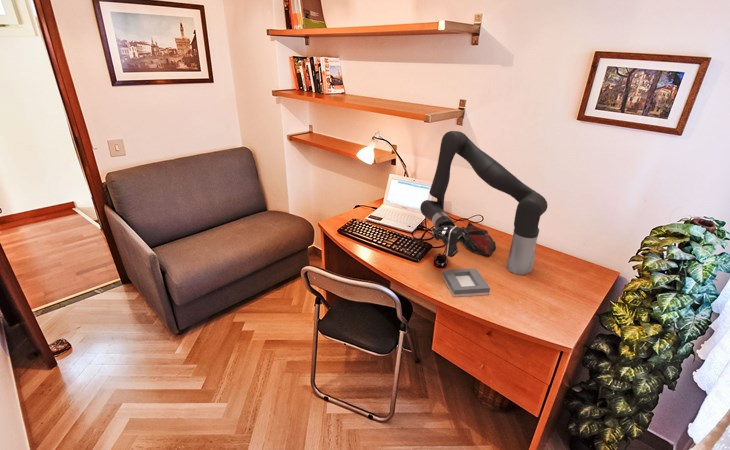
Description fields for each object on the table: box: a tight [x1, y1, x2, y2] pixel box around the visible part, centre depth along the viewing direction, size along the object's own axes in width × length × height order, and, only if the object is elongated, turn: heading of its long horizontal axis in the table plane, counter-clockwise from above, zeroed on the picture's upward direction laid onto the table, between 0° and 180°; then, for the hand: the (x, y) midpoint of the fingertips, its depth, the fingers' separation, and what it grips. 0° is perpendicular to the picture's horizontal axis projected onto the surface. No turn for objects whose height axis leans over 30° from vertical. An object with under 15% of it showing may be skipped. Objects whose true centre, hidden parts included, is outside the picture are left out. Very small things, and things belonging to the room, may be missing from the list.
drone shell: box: [459, 221, 497, 256], centre depth 175 cm, size 21×20×8 cm
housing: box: [441, 267, 491, 298], centre depth 144 cm, size 14×14×3 cm
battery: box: [444, 225, 463, 258], centre depth 142 cm, size 7×4×11 cm, turn 143°
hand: (456, 242), depth 140 cm, fingers closed on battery, 7 cm apart
